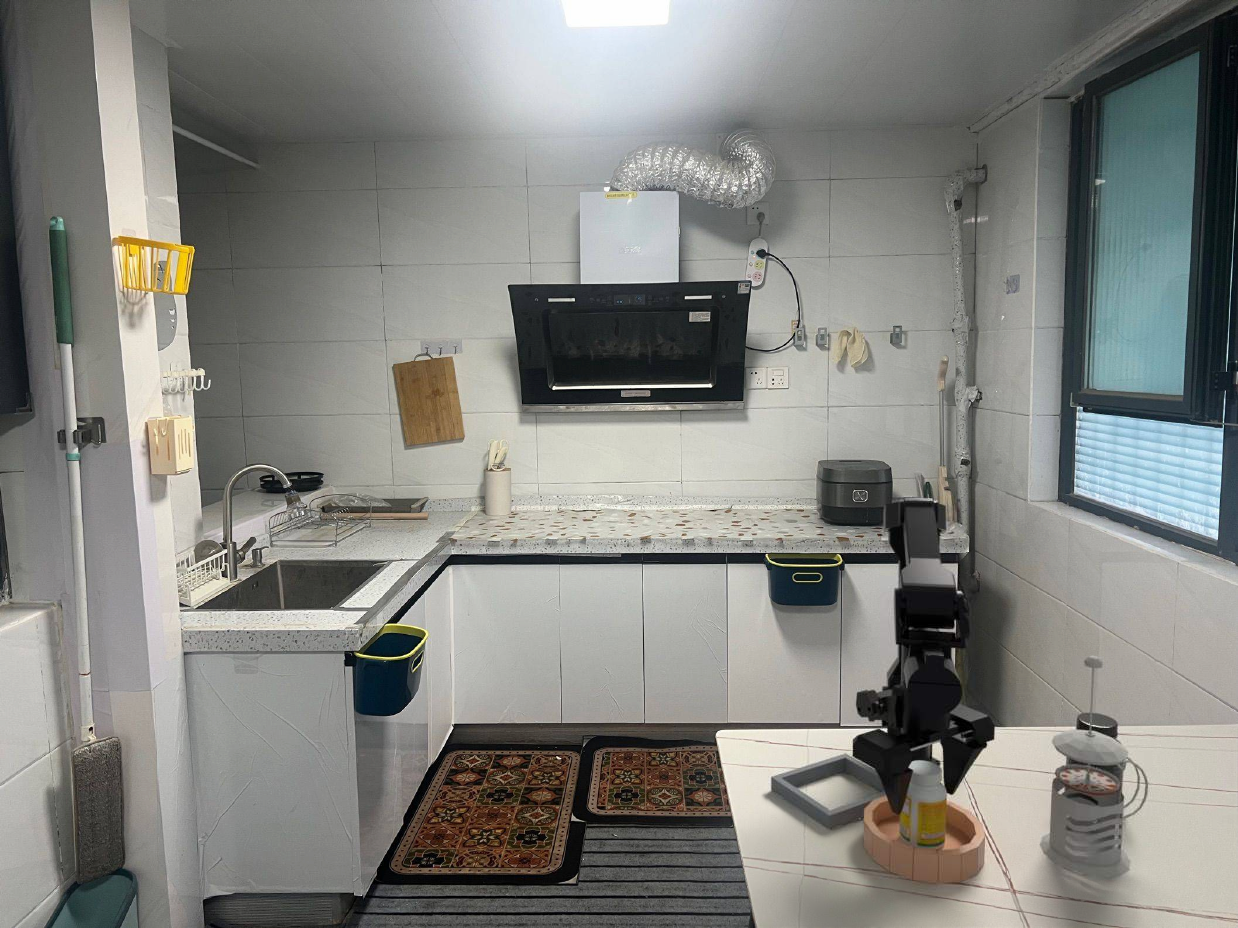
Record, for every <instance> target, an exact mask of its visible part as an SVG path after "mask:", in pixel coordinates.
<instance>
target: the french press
mask: <svg viewBox="0 0 1238 928" xmlns="http://www.w3.org/2000/svg"><path fill="white" fill-rule="evenodd" d="M1083 661H1084V662H1083V663H1084V667H1087V668H1091V669H1092V671H1091V672H1092V673H1091V687H1090V688H1091V689H1090V690H1091V691H1090V712H1089V713H1090V731H1087V730H1076V729H1069V730H1066V731H1064V732H1060V733H1057V734H1055V735H1053V737H1052V739H1051V743H1052V745H1053V746H1054V749H1055V750H1056V751H1057V752H1058V753H1060V754H1062V755H1063V756H1064V757H1065V758H1066V757H1068V758H1071V759H1073V760H1076V761H1079V762H1083V763H1088V765H1087V766H1085V765H1079V764H1078V765H1076V764H1075V765H1074V764H1072V765H1070V764H1069V765H1066V764H1065V765H1060V766H1059V767H1057V768H1056V769H1055V771H1054V776H1055V777H1054V778H1053V779H1052V782H1051V796H1050V797H1051V799H1050V820H1049V823H1050V824H1049V825H1050V826H1049V833H1047V834H1046V835H1044V836H1042V837H1041V839H1040V843H1039V846H1040V848H1041V851H1042V853H1043V854H1044V855H1045V856H1046V857H1047V858H1049V860H1051V861H1052V862H1053V863H1055V864H1057V865H1058V866H1061V867H1062V868H1065V869H1067V870H1069V871H1072V872H1075V873H1078V874H1082V875H1085V876H1090V877H1091V876H1092V877H1100V878H1101V877H1102V878H1111V877H1116V876H1122V875H1123V874H1125V873H1127V872H1128V871H1130V867H1131V862H1132V861H1131V859H1130V858H1129V856H1128V854H1127V853H1126V852H1125V851H1124V850H1123V848H1122V844H1123V831H1124V821H1125V820H1126V819H1128V818H1129V817H1132V816H1134V815H1136V813H1137V814H1138V812H1139V811H1140V810H1141V809H1142V808H1143V806H1144V804H1145V803H1146V800H1147V798H1148V791H1149V781H1148V778H1147V776H1146V773H1145V771H1144V770H1143V768H1142V767H1141V766H1139V765H1138V764H1137V763H1135V762H1134V761H1133V760H1132V759H1131V758H1130V757H1128V756H1129V751H1128V750H1127V748H1126V746H1125V745H1123V744H1122V743H1121V742H1120V741H1119V742H1120V743H1121V744H1120V743H1119V742H1117V741H1116V740H1115V739H1113V738H1112V737H1109V736H1106V735H1104V734H1101V733H1098V732H1096V731H1091V727H1092V713H1093V704H1094V703H1093V701H1094V699H1093V698H1094V683H1095V682H1094V681H1095V669H1101V668H1103V665H1104V664H1103V661H1102V659H1100V657H1099V656H1096V655H1089V656H1087V657H1085V658H1084V660H1083ZM1122 762H1124V766H1123V768H1122V767H1121V766H1120V765H1119V763H1122ZM1127 763H1128V764H1129V763H1130V764H1131V765H1133V767H1134V769H1135V771H1136V776H1137V780H1136V781H1137V783H1136V784H1137V785H1136V789H1135V791H1134V794H1133V797H1132V798H1131V799H1130V801H1129V802H1127V803H1126V804H1125V795H1124V794H1123V792H1122V793H1121V798H1120V804H1117V792H1119V791H1120V790H1121V787H1122V783H1121V782H1120V780H1119V779H1118V778H1117V777H1116V776H1114V775H1112V774H1111V773H1108V772H1106V771H1105V770H1104V771H1103V770H1101V769H1100V768H1099V769H1098V768H1097V767H1096V768H1094V767H1091V766H1090V764H1093V765H1105V766H1107V765H1117V766H1118V767H1119V768H1120V769H1122V770H1124V771H1125V770H1126V767H1127ZM1139 771H1140V773H1141V775H1142V776H1143V779H1144V783H1145V787H1144V795H1143V798H1142V800H1141V803H1140V805H1139V807H1137V808H1136V809H1135V810H1134V811H1133V812H1130V813H1128V814H1126V815H1124V811H1125V810H1124V809H1127V808H1128V807H1129V806H1130V805H1131V804H1132V803H1133V802H1134V801H1135V800H1136V797H1137V796H1138V793H1139V791H1140V787H1141V785H1140V784H1141V783H1140V782H1141V775H1140V773H1139ZM1065 786H1066V787H1068V788H1070V789H1068V790H1066V791H1065V792H1064V791H1063V792H1062V793H1059V792H1060V791H1061V790H1063V789H1064V788H1065ZM1122 788H1123V787H1122ZM1073 793H1082V794H1085V795H1088V796H1091V797H1092V798H1094V799H1095V800H1097V801H1098V805H1096V804H1095V803H1093V802H1091V801H1089V800H1086V799H1084V798H1081V797H1074V798H1066V797H1065V796H1066V795H1068V794H1073ZM1078 802H1080V803H1078ZM1082 803H1083V804H1082ZM1116 804H1117V805H1116ZM1118 814H1119V818H1117V815H1118ZM1094 820H1095V821H1096V822H1094ZM1116 825H1118V828H1116ZM1116 835H1117V836H1118V838H1116Z"/></svg>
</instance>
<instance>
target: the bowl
mask: <svg viewBox="0 0 1238 928" xmlns="http://www.w3.org/2000/svg"><path fill="white" fill-rule="evenodd" d="M985 847H986V832H985V829H984V825H983V822H981V821H980V820H979V819H978V817H976V816H975V814H973V812H972V811H970V810H968V809H966V808H964V807H962V806H960V805H959V804H957V803H955V802H953V801H951V800H947V803H946V831H945V844H944V846H943V847H942V848H940V849H939V850H929V849H921V848H914V847H912V846H909V845H906V844H905V843H904V842H903V841H902V840H901V838H900V815H897V814H895V813H894V812H892V810H891V807H890V804H889V802H888V799H887V796H883V797H880V798H878V799H875V800H873V801H872V802H871V803H870V804H869V805H868V806H867V807H866V808H865V809H864V818H863V848H864V849H865V851H866V853H867V854H868V855H869V857H870V858H871V859H872V861H874V862H875V863H876V864H878V865H879V866H881V867H883V868H884V869H885V870H887V871H888V872H890V873H893V874H895V875H897V876H900V877H903V878H906V879H909V880H913V881H917V882H924V883H930V884H938V885H939V884H941V885H942V884H950V883H952V884H953V883H961V882H964V881H965V880H967V879H970V878H972V877H975V876H977V875H978V874H979V873H980V871H981V870H982V869H983V866H984V865H985V853H986V850H985V849H986V848H985Z"/></svg>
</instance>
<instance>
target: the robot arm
mask: <svg viewBox="0 0 1238 928" xmlns="http://www.w3.org/2000/svg"><path fill="white" fill-rule="evenodd" d="M882 521H883V532H884V533H887V536H888V537H887V539H888V540H887V541H888V544H889V546H890V547H891V549H892V551H893V552H894V554H895V556H896V558H897V559H898V560H897V561H898V570H897V571H898V581H897V583H898V584H897V585H898V587H894V590H893V619H894V621H893V622H894V641H895V645H897V657H896V658H895V660H894V662H893V663H892V664H891V666H890V667H889V669H888V670H887V672H886V686H884V685H883V686H882V685H881V690H880V691H878V692H877V691H876V690H875V689H871V690H868V689H864V690H860V691H857V692H856V699H855V708H856V711H857V715H858V716H859V717H860V718H868V719H867V720H868V721H869V722H870V723H871V722H872V723H873V722H875V721H881V727H883V728H884V727H886V731H885V730H883V729H881V728H876V729H873V730H870V731H867V732H866V731H865V732H863V733H861V734H858V735H856V736H855V737H854V738H852V757H853V758H855V759H857V760H858V761H860V762H862V763H864V764H866V765H867V766H869V767H871V768H873V769H875V770H876V772H877V774H878V776H879V778H880V780H881V782H882V785H883V788H884V791H885V793H886V796H887V799H888V802H889V804H890V807H891V810H892V812H894V813H895V814H897V815H900V814H901V812H902V809H903V807H904V803H905V800H906V796H907V792H908V788H909V784H910V781H911V777H912V773H913V770H912V769H910V768H908V767H909V766H910V764H911V762H913V761H918V760H920V761H929V762H932V763H935V764H937V765H938V766H939V767H940V766H941V761H940V760H939V759H938V758H935V757H933V745H935V744H937V743H939V744H940V745H941V747H942V769H943V770H942V779H943V785H944V787H945V788H946V791H947V795H950V796H952V795H955V794H956V791H957V789H958V788H959V786H961V783H962V782H963V781H964V779H965V776H966V775H967V774H968V771H970V769H971V767H972V766H973V764H974V763H975V761H976V760H977V758H979V756H980V754H981V753H982V751H983V750H985V749H987V747H988V742H991V741H994V740H995V732H996V731H995V729H996V725H995V723H994V722H993V720H992V719H991V717H990V715H988V714H985V713H983V712H980V711H978V710H975V709H973V708H971V707H968V706H966V705H963V704H961V703H960V702H961V700H962V698H963V686H962V683H961V680H960V678H959V675H958V673H957V672H958V671H957V668H956V666H955V663H954V660H953V657H952V656H953V655H952V654H953V649H961V650H962V649H963V650H966V645H967V644H966V643H967V642H966V639H970V635H971V632H970V630H971V628H970V621H969V618H970V617H969V610H968V601H967V600H966V599H965V596H964V595H965V594H964V593H963V592H962V590H958V589H957V583H956V579H955V575H954V573H953V572H952V571H950V570H949V569H948V568H947V567H945V566H944V565H943V563H942V558H941V557H942V556H941V549H940V543H941V541H940V537H941V536H940V535H941V534H945V533H946V532H947V506H946V505H945V504H942V503H939V502H938V499H937V500H936V499H933V498H932V497H904V498H903V499H899V500H897V501H896V500H892V501H891V502H890V503H885V504H884V507H883V520H882ZM955 621H956V622H955ZM955 626H956V632H955V631H942V630H954V629H955ZM956 634H957V635H956Z"/></svg>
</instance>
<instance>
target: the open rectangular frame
mask: <svg viewBox="0 0 1238 928" xmlns="http://www.w3.org/2000/svg"><path fill="white" fill-rule="evenodd" d="M841 772H847V773H848V774H851V775H852V776H853V777H856V778H857V779H859V780H861V781H862V782H864V783H865V784H868V785H869V786H870V787H873V788H874V789H876V790H878V791H879V792H877V793H875V794H872V795H869V796H867V797H864V798H860V799H858V800H855V801H852V802H849V803H846V804H843V805H841V806H837V807H834V808H831V809H829V808H827V807H826V806H825V805H823V804H822V803H820V802H819V801H817V800H816V799H815V798H812V797H811V796H809V795H807V794H806V793H805V792H804V791H802V790H800V789H799V788H797V787H799V786H802V785H806V784H808V783H811V782H814V781H817V780H820V779H822V778H827V777H829V776H833V775H835V774H838V773H839V774H840V773H841ZM795 786H796V787H795ZM770 791H771V792H772V793H775V794H776V795H778V796H779V797H780V796H781V799H783V800H785V801H786V802H788V803H789V804H791V805H792V806H793V807H795V808H796V809H798V810H799V811H801V812H803V814H805V815H807V816H808V817H810V818H811V819H812V820H814V821H816V823H818V824H819V825H821V826H823V827H824V828H826V829H827V830H829V831H831V830H833V829H836V828H840V827H842V826H844V824H845V825H847V824H849V823H852V822H851V821H853V822H855V820H856V821H858V820H860V819H859V818H861V819H864V818H863V817H864V809H865V808H866V807H867V806H868V805H869V804H870V803H871V802H872V801H873V800H875V799H878V798H880V797H883V796H886V793H885V791H884V788H883V785H882V782H881V780H880V778H879V776H878V774H877V772H876V770H875V769H874V768H872V767H870V766H869V765H867V764H865V763H863V762H861V761H860V760H858V759H856V758H854V757H853V756H851V755H850V754H847V753H846V752H845V753H842V754H839V755H836V756H833V757H830V758H827V759H823V760H820V761H817V762H814V763H811V764H810V763H809V764H808V765H805V766H801V767H798V768H794V769H792V770H788V771H786V772H783V773H778V774H776V775H773V776H770Z"/></svg>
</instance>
